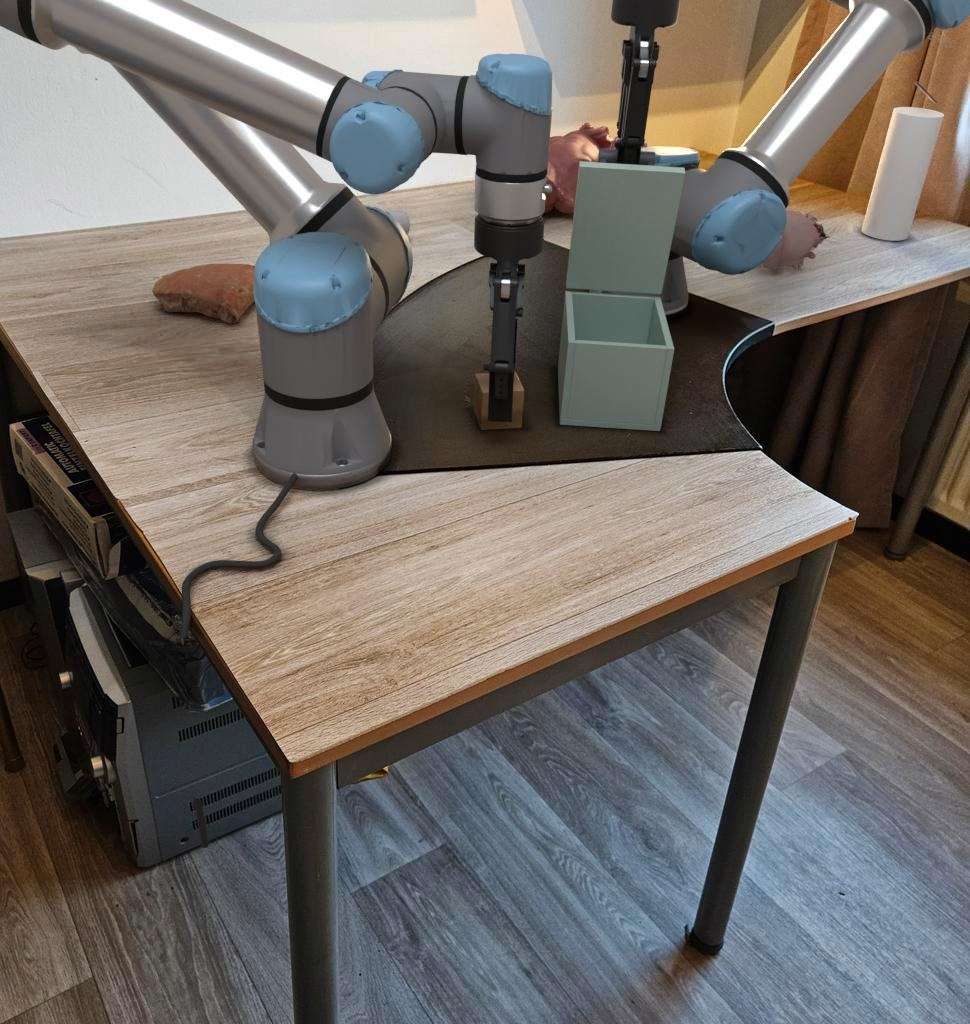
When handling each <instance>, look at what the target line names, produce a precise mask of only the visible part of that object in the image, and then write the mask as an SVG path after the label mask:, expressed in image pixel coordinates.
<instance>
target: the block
mask: <svg viewBox="0 0 970 1024" xmlns="http://www.w3.org/2000/svg"><path fill="white" fill-rule="evenodd" d="M488 401H489V372H483V373H475V374H474V392H473V413H474V415H475V418H476V421H477V423H478V426H479V429H480V431H487V430H491V431H492V430H507V429H508V430H511V429H522V428H523V415H524V401H525V389H524V387H523V384H522V382H521V380H520V378H519V376H518V374H517V372H516V371H514V385H513V405H512V422H497V421H488Z"/></svg>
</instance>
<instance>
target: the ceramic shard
mask: <svg viewBox="0 0 970 1024" xmlns="http://www.w3.org/2000/svg"><path fill="white" fill-rule="evenodd" d="M254 270H255V265H252V264H249V263H207V264H201V265H194V266H192V267H188V268H183V269H179V270H176V271H173V272H170V273H167V274H164V275H162V276H161V277H160V278H159V279H158V280H157V281H156V282H155V283H154V285H153V287H152V290H151V292H152V295H153V296H154V297H155V298H156V299H157V300H158V301H159V302H160V303H161V305H162V307H163V308H164V310H165V311H167V312H169V313H174V312H175V313H200V314H203V315H204V316H206V317H210V318H216V319H220V320H221V321H223V322H225V323H227V324H235V323H237V322H238V321H239V319H240V318H241V317H242V315H243V314H244V313H245V312H246V310H247V309H249V307H250V306H251V305H252V304H253V303H255V301H254V295H253V290H254V281H255V277H254Z"/></svg>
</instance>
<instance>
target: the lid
mask: <svg viewBox="0 0 970 1024" xmlns="http://www.w3.org/2000/svg"><path fill="white" fill-rule="evenodd" d="M617 153H618V149H602V148H600V149H599V153H598V162H582V161H580V162H579V171H578V180H577V189H576V198H575V207H574V211H573V216H572V227H571V234H570V243H569V252H568V260H567V269H566V279H565V288H566V289H572V290H573V289H574V290H575V289H576V290H589V291H590V290H604V291H620V292H636V293H652V294H662V289H663V284H664V279H665V274H666V268H667V263H668V258H669V253H670V248H671V243H672V238H673V233H674V228H675V223H676V218H677V213H678V208H679V203H680V198H681V193H682V188H683V183H684V178H685V168H680V167H664V166H654V165H655V152H651V151H641V154H640V162H639V165H631V164H616V162H617Z"/></svg>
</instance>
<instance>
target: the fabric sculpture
mask: <svg viewBox="0 0 970 1024" xmlns="http://www.w3.org/2000/svg"><path fill="white" fill-rule="evenodd" d="M610 130H611V129H610V127H608V126H607V125H605V126H604V125H602V126H600V127H598V126H592V125H591V124H590V123H589V122H585V123H584V124H581V126H580V127H579V129H576V130H573V131H570V132H568V133H566V134H565V135H554V136H550V143H549V156H548V169H547V176H546V179H547V181H546V183H545V184H550V185H551V186H552V192H551V193H550V194H544V195H545V211H544V213H543V214H546V213H549V212H551V211H552V210H553V209H554V208H555V209H556V210H557V211H559V212H560V213H564V214H569V213H574V207H575V198H576V189H577V180H578V171H579V162H580V161H582V162H598V153H599V149H600V148H602V149H616V147H614V141H617V140H621V138H618V135H616V136H615V137H614V138H612V137H611V136H610V135H609V134H610ZM643 147H649V146H648V143H647V142H645V143H644V146H643ZM643 147H641V148H643Z"/></svg>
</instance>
